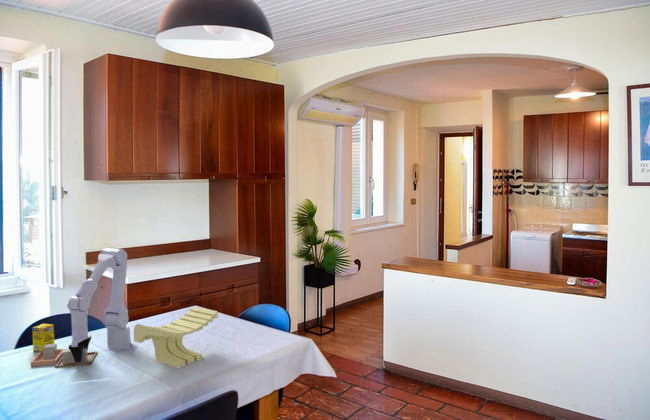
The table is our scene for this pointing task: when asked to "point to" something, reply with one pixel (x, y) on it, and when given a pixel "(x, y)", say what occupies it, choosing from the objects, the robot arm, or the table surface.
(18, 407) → the table surface
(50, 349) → the block
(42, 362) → the terracotta bin
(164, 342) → the slatted curved stool
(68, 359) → the white block
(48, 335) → the supplement box
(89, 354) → the walnut tray
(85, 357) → the block
